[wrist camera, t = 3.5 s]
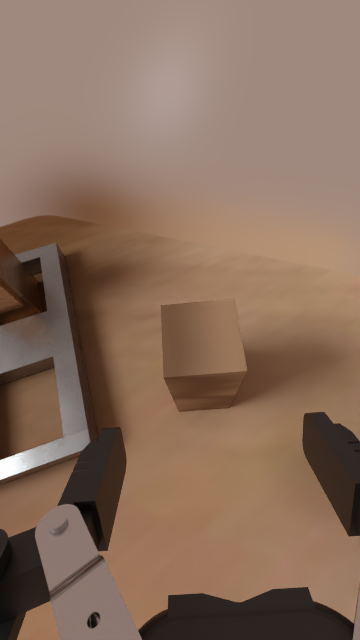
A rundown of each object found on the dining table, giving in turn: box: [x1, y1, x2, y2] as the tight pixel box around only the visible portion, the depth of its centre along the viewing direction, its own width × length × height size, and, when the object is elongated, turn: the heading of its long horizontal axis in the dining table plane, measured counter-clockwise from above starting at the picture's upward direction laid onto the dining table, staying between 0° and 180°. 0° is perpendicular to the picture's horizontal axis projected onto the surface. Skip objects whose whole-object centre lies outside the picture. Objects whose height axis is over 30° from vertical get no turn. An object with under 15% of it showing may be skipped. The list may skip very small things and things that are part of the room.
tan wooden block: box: [161, 299, 247, 412], centre depth 19 cm, size 4×4×10 cm
